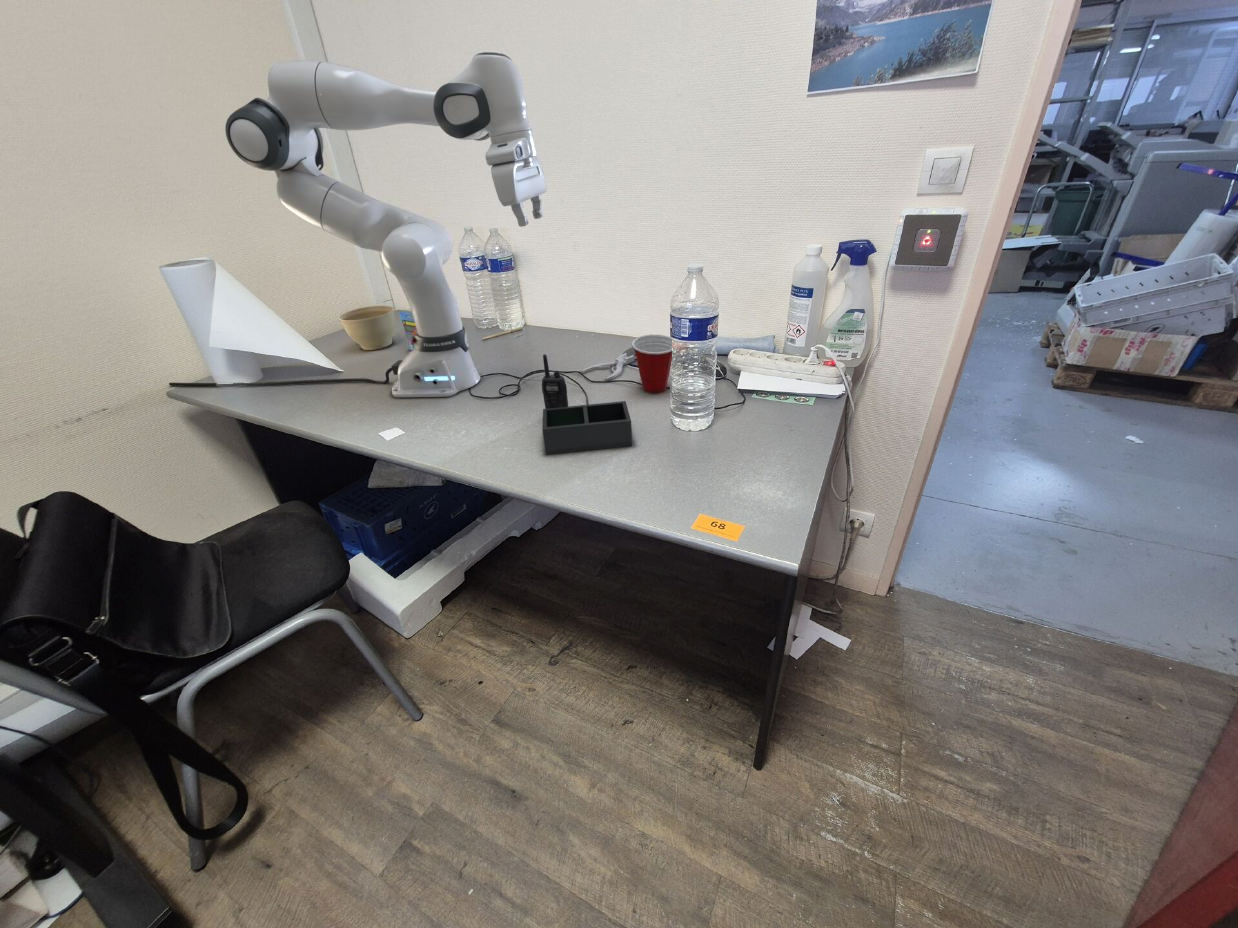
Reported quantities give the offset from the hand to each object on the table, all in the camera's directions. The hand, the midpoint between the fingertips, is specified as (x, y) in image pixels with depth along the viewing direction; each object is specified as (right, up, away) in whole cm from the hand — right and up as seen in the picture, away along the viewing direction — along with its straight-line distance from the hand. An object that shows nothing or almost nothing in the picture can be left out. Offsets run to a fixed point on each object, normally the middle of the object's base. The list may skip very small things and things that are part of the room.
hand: (531, 222), depth 113 cm
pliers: (+18, -28, +25) cm, 42 cm away
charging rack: (+13, -49, -8) cm, 51 cm away
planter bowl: (-60, -16, +52) cm, 81 cm away
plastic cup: (+29, -36, +12) cm, 47 cm away
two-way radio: (+6, -44, +2) cm, 44 cm away
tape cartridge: (-42, -19, +45) cm, 64 cm away
